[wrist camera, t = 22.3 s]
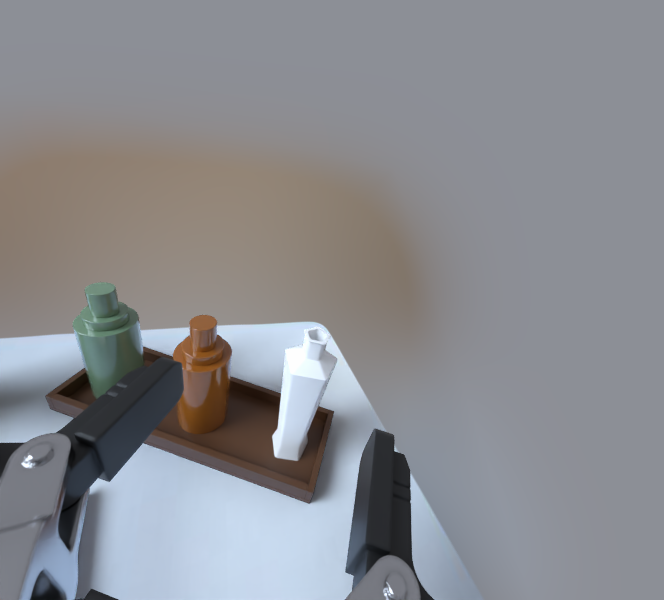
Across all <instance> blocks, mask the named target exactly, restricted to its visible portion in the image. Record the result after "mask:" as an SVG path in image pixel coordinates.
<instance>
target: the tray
mask: <svg viewBox="0 0 664 600" xmlns="http://www.w3.org/2000/svg"><path fill="white" fill-rule="evenodd" d="M143 352H144V359H145V366H147V367H149V366H150V365H151V364H153V363H154V362H155V361H156V360H157V359H158V358H160V357H166V358H169V359H172V360H173V357H172V356H169V355H166V354H164V353H161V352H158V351H155V350H152V349H149V348H146V347H143ZM45 397H46V399H47V402H48V404H49V406H50V409H52V410H55V411H57V412H60V413H63V414H66V415H68V416H71V417H74V418H75V417H77V416H78V415H79V414H80V413H81V412H82V411H84V410H85V409H86V408H87V407H88V406H90V405H91V404H92V403H93V402H94V401H95V400H97V399H96V398H95V397H94V396H93V394H92V391H91V387H90V384H89V380H88V377H87V374H86V370H85V368H84V369H82V370H81V371H79V372H78V373H77V374H75V375H74V376H72V377H71V378H70V379H68V380H67V381H65V382H64V383H63V384H61V385H60V386H58V387H57V388H55V389H54V390H53V391H51V392H50V393H48V394H47V395H46V396H45ZM280 400H281V393H278V392H275V391H272V390H269V389H266V388H263V387H260V386H258V385H255V384H252V383H249V382H246V381H243V380H240V379H237V378H234V377H231V376H230V387H229V403H228V414H227V417H226V419H225V421H224V422H223V423H222V425H221V426H219V427H218V428H217V429H215V430H213V431H211V432H209V433H205V434H192V433H189V432H186V431H185V430H183V429H182V428H181V426H180V425H179V423H178V417H177V404H176V405H175V406H174V407H173V408H172V410H171V411H170V412H169V413H168V414H167V415H166V417H165V418H164V419H163V420H162V421H161V422H160V424H159V425H158V426H157V427H156V428H155V429H154V431H153V432H152V433H151V434H150V435H149V436H148V438H147V439H146V440H145V441H144V442H143V443H145V444H148V445H150V446H153V447H156V448H159V449H161V450H164V451H167V452H170V453H172V454H175V455H178V456H180V457H183V458H186V459H189V460H191V461H194V462H197V463H200V464H202V465H205V466H208V467H211V468H213V469H216V470H219V471H221V472H224V473H227V474H230V475H232V476H235V477H238V478H241V479H243V480H246V481H249V482H252V483H254V484H257V485H260V486H263V487H265V488H268V489H271V490H273V491H276V492H279V493H282V494H284V495H287V496H290V497H293V498H295V499H298V500H301V501H304V502H306V503H310V501H311V498H312V496H313V493H314V489H315V485H316V481H317V477H318V473H319V469H320V465H321V461H322V457H323V454H324V450H325V446H326V442H327V438H328V434H329V430H330V426H331V422H332V418H333V414H334V411H331V410H328V409H325V408H322V407H319V406H318V408H317V411H316V413H315V416H314V418H313V420H312V423H311V425H310V428H309V430H308V433H307V439H308V443H307V445H306V447H305V449H304V451H303V454H302V456H301V458H300V460H298V461H294V460H288V459H281V458H276V457H275V455H274V448H273V439H272V436H273V434H274V433H275V431H276V430H277V428H278V419H279V409H280Z"/></svg>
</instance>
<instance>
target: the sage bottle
mask: <svg viewBox="0 0 664 600" xmlns="http://www.w3.org/2000/svg"><path fill="white" fill-rule="evenodd" d="M85 294H86V298H87V302H88V306H87V307H85V308H84V309H83V310H82V311H81V314H80V315H78V316H77V317H76V319H75V320H74V322H73V329H74V332H75V336H76V339H77V343H78V346H79V350H80V353H81V356H82V360H83V363H84V367H85V370H86V374H87V377H88V380H89V384H90V387H91V391H92V394H93V396H94V397H95V398H96V399H98V398H99V397H100V396H101V395H103V394H105V393H106V391H107V390H108V389H110V388H111V387H112V386H113V385H116V383H117V382H118V381H119V380H120V379H121V378H123V377H124V376H125V375H126V374H127V373H129V372H131V371H133V370H135V369H137V368H139V367H141V366H143V365H144V366H145V359H144V352H143V345H142V338H141V331H140V324H139V317H138V314H137V312H136V311H135V310H133V309H132V308H129V307H127V305H126V304H124V303H122V302H118V298H117V292H116V287H115V286H114V285H113V284H111V283H104V282H101V283H95V284H91V285H89V286H87V287H86V288H85Z"/></svg>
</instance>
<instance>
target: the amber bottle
mask: <svg viewBox="0 0 664 600" xmlns="http://www.w3.org/2000/svg"><path fill="white" fill-rule="evenodd" d="M189 324H190V336H188V337H187V338H186V339H185V340H184V341H183V342H181V343H180V344H179V345H178V346H177V347H176V348H175V350H174V353H173V360H175V361H178V362H180V363H182V368H183V382H184V390H183V394H182V396H181V398H180V400H179V401H178V403H177V417H178V423H179V425H180V426H181V428H182V429H183V430H185V431H186V432H189V433H192V434H205V433H209V432H211V431H213V430H215V429H217V428H218V427H219V426H221V425H222V423H223V422H224V421H225V419H226V417H227V414H228V403H229V387H230V372H231V357H232V349H231V347H230V345H229V344H228V342H226V341H225V340H224V339H222V338H221V337H220V336H219V335H217V321H216V319H215V318H214V317H212V316H208V315H199V316H196V317H194V318H192V319H191V320H190V323H189Z"/></svg>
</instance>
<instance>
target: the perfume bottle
mask: <svg viewBox="0 0 664 600" xmlns="http://www.w3.org/2000/svg"><path fill="white" fill-rule="evenodd" d="M304 332H305V339H304V343H303V344H302V345H298V346H294V347H290V348H287V349H286V351H285V361H284V371H283V380H282V390H281V400H280V409H279V419H278V428H277V430H276V431H275V433H274V434H273V436H272V439H273V448H274V455H275V457H276V458H281V459H288V460H294V461H298V460H300V458H301V456H302V454H303V451H304V449H305V447H306V445H307V443H308V439H307V433H308V430H309V428H310V425H311V423H312V420H313V418H314V416H315V413H316V411H317V408H318V406H319V403H320V401H321V399H322V396H323V394H324V391H325V389H326V387H327V384H328V382H329V379H330V377H331V374H332V372H333V370H334V367H335V365H336V362H337V358H336V357H334V356H333V355H332V354H330V353H329V352H327V351H326V350H325V348H326V344H327V342H328V340H329V338H330V336H331V335H330V334H329V333H327V332H326V331H324V330H323V329H322V328H320V327H314V328H309V329H306V330H305V331H304Z"/></svg>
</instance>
